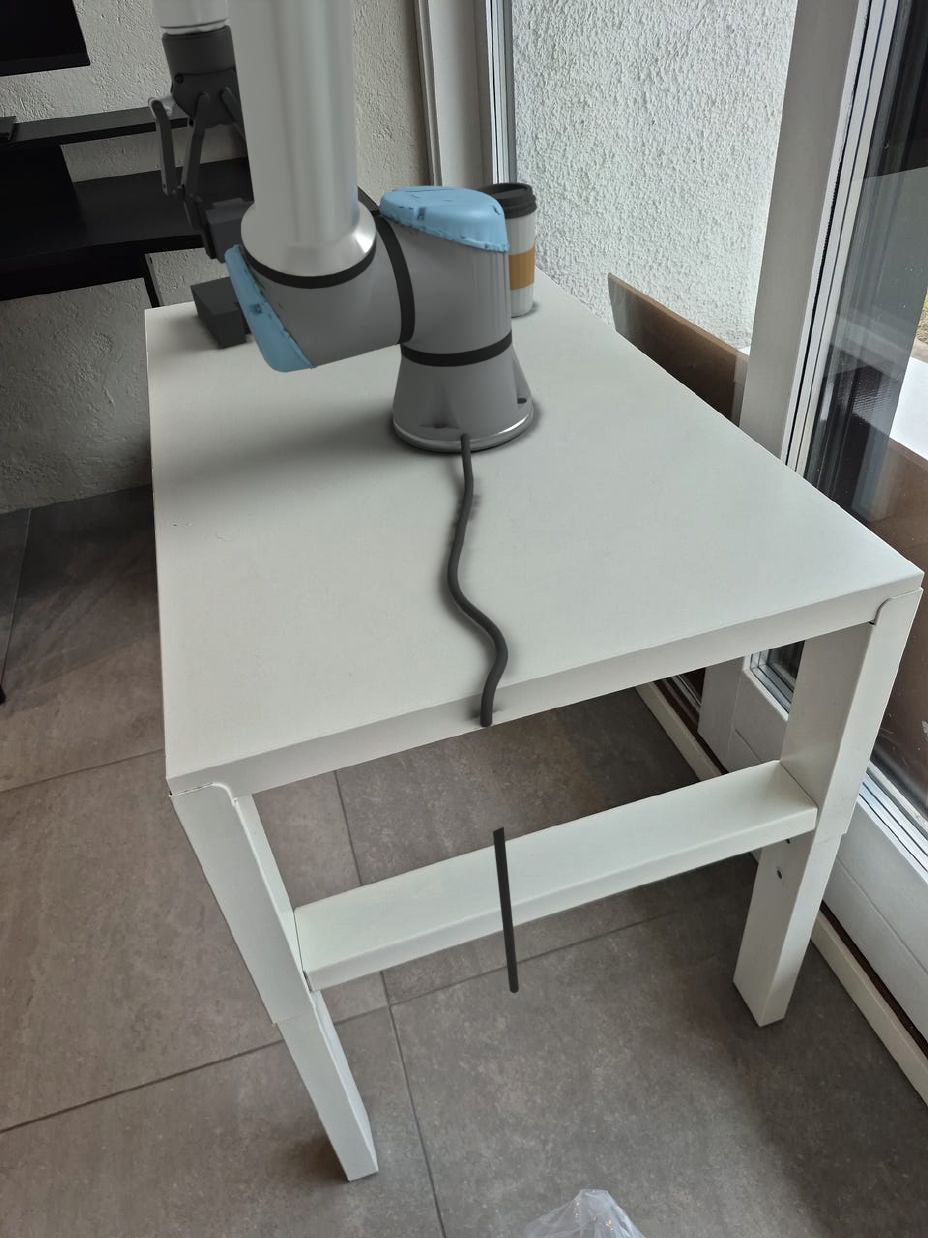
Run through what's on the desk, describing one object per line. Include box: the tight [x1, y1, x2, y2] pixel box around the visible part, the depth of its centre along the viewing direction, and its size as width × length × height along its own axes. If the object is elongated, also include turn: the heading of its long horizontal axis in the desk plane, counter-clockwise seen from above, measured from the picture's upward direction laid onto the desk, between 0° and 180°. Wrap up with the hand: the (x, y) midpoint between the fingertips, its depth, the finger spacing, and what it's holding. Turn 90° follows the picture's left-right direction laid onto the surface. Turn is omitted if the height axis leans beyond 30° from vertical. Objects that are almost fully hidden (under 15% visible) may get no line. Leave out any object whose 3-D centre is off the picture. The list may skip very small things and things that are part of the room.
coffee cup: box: [475, 181, 538, 318], centre depth 117 cm, size 8×8×15 cm
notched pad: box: [189, 275, 252, 349], centre depth 125 cm, size 14×12×4 cm
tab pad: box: [206, 197, 255, 265], centre depth 110 cm, size 9×8×4 cm
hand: (246, 247), depth 110 cm, fingers closed on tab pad, 8 cm apart
